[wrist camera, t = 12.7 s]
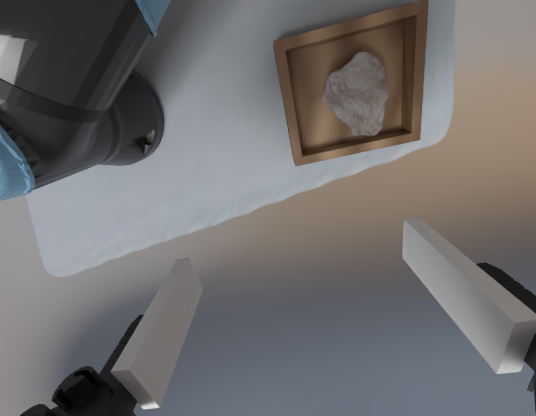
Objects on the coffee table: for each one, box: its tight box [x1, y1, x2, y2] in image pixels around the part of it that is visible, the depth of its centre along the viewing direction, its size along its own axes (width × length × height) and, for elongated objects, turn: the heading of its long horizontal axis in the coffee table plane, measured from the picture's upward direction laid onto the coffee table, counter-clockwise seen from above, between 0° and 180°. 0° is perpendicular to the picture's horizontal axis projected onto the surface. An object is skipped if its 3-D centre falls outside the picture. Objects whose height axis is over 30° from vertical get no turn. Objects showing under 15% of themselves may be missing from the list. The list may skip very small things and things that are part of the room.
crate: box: [274, 0, 428, 166], centre depth 32 cm, size 18×16×4 cm
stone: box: [322, 52, 389, 136], centre depth 31 cm, size 10×8×6 cm
